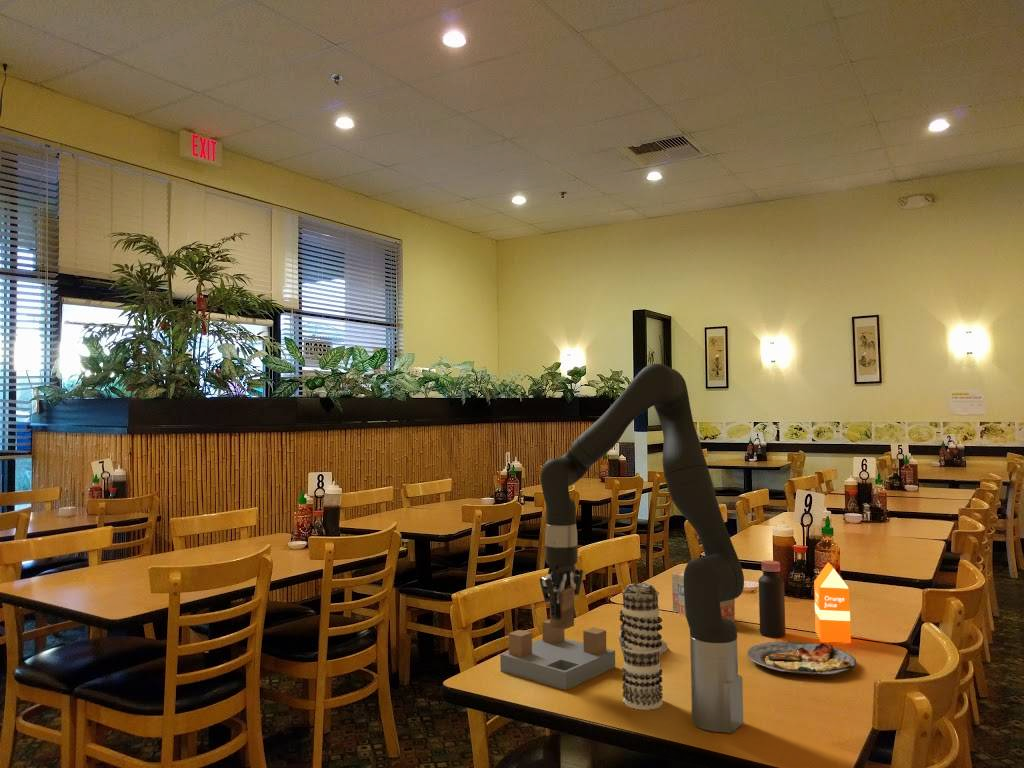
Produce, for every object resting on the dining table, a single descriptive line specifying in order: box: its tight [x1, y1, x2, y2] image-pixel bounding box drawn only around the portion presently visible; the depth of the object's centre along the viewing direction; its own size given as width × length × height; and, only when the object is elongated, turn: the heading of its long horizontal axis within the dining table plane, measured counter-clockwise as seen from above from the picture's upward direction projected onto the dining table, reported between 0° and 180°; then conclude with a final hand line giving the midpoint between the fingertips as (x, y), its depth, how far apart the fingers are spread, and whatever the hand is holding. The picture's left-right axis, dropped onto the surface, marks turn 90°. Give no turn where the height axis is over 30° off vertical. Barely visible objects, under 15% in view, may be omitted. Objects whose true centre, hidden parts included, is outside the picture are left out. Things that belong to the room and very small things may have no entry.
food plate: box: [747, 640, 857, 676], centre depth 185 cm, size 25×23×4 cm
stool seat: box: [499, 618, 616, 691], centre depth 183 cm, size 20×20×9 cm
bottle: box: [758, 560, 786, 639], centre depth 209 cm, size 7×7×20 cm
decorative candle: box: [619, 582, 663, 711], centre depth 162 cm, size 9×9×25 cm
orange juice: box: [813, 561, 852, 644], centre depth 205 cm, size 8×9×20 cm
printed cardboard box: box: [671, 570, 736, 624], centre depth 226 cm, size 21×6×12 cm, turn 26°
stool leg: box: [549, 586, 575, 631], centre depth 175 cm, size 4×4×9 cm
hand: (562, 616), depth 175 cm, fingers closed on stool leg, 4 cm apart
